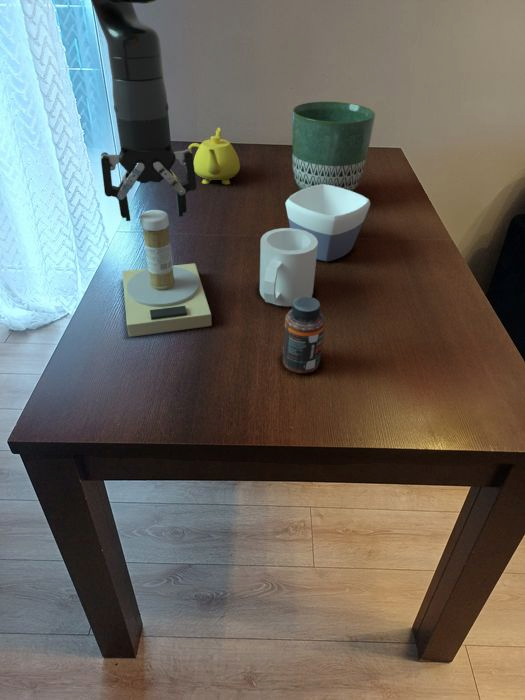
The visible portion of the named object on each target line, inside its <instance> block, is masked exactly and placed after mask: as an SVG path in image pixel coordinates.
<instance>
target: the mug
mask: <svg viewBox="0 0 525 700" xmlns="http://www.w3.org/2000/svg"><path fill="white" fill-rule="evenodd" d="M317 246H318V241H317V238H316V237H315V236H314V235H312V234H311V233H309V232H307V231H303V230H300V229H293V228H290V227H280V228H274V229H271V230H269V231H266V232H265V233H264V234H262V236H261V237H260V250H259V253H260V254H259V255H260V256H259V257H260V258H259V295H260V296H261V297H262V299H263V300H264V302H265V303H269V304H272V305H275V306H280V307H292V306H293V301H294V300H295V299H296V298H299V297H312V298H313V294H314V285H315V276H316V266H317V265H316V264H317V259H316V256H317Z"/></svg>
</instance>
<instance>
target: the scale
mask: <svg viewBox="0 0 525 700" xmlns="http://www.w3.org/2000/svg"><path fill="white" fill-rule="evenodd" d="M121 273H122V282H123V283H122V285H123V294H124V295H123V296H124V308H125V318H126V329H127V333H128V337H129V338H133V337H138V336H139V337H140V336H148V335H154V334H155V335H156V334H162V333H169V332H175V331H183V330H190V329H199V328H205V327H211V326H212V324H213V323H212V322H213V321H212V313H211V309H210V306H209V304H208V299H207V297H206V293H205V290H204V288H203V284H202V281H201V278H200V275H199V271H198V267H197V265H196V263H195V262H194V263H193V262H192V263H185V264H184V263H183V264H176V265H173V276H174V280H175V284H174V285H173V286H172V287H171V288H169V289H165V290H158V289H154V288H153V287H151V285H150V276H149V270H148V267H147V268H138V269H129V270H123V271H121Z"/></svg>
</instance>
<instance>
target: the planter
mask: <svg viewBox="0 0 525 700" xmlns="http://www.w3.org/2000/svg"><path fill="white" fill-rule="evenodd" d="M375 118H376V113H375V111H374V110H372V109H371V108H368V107H366V106H363V105H359V104H355V103H349V102H341V101H311V102H305V103H300V104H297V105H295V106H294V107H293V108H292V118H291V119H292V120H291V122H292V128H291V129H292V131H291V132H292V133H291V135H292V136H291V137H292V138H291V141H292V142H291V145H292V146H291V149H292V150H291V153H292V154H291V157H292V158H291V160H292V161H291V163H292V164H291V165H292V174H293V177H294V182H295V184H296V186H297V187H298V189H299V191H300V190H302V189H305V188H308V187H312V186H315V185H321V184H325V185H332V186H336V187H340V188H343V189H346V190H350V191H352V192H354V191H355V190H356V189H357V187H358V186H359V184H360V182H361V180H362V178H363V175H364V171H365V167H366V163H367V158H368V153H369V148H370V144H371V138H372V134H373V130H374V124H375V120H376V119H375Z"/></svg>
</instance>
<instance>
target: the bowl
mask: <svg viewBox="0 0 525 700" xmlns="http://www.w3.org/2000/svg"><path fill="white" fill-rule="evenodd" d="M370 206H371V201H370V199H369V198H368V197H365V196H364V195H362V194H361V193H359V192H358V193H357V192H356V191H355V192H354V191H353V192H352V191H350V190H346V189H343V188H340V187H336V186H332V185H325V184H321V185H315V186H312V187H308V188H305V189H302V190H300V189H299V190H298V191H295V192H294V193H292V194H291V195H290V196H289V197H288V198H287V199H286V201H285V209H286V214H287V219H288V224H289V228H293V229H300V230H303V231H307V232H309V233H311V234H312V235H314V236H315V237H316V238H317V241H318V246H317V256H316V260H318V261H321V262H331V261H335V260H337V259H340V258H343V257H344V256H346V255H348V253H350V251H352V250H353V248H354V245H355V243H356V240H357V238H358V235H359V233H360V231H361V228H362V226H363V223H364V221H365V219H366V217H367V214H368V212H369V209H370Z"/></svg>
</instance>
